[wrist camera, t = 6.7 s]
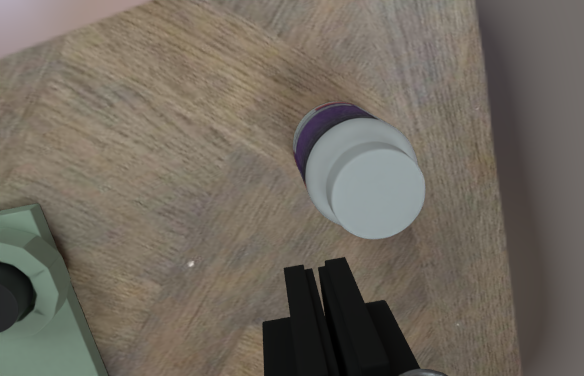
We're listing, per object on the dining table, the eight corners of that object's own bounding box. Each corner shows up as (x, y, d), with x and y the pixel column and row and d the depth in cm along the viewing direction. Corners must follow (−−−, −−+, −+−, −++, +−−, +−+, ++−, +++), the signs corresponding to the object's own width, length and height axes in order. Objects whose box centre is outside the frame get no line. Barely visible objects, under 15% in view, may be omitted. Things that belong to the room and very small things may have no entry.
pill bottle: (277, 165, 27) (291, 228, 18) (315, 85, 25) (351, 107, 16) (353, 197, 28) (403, 272, 19) (392, 122, 27) (467, 162, 17)
